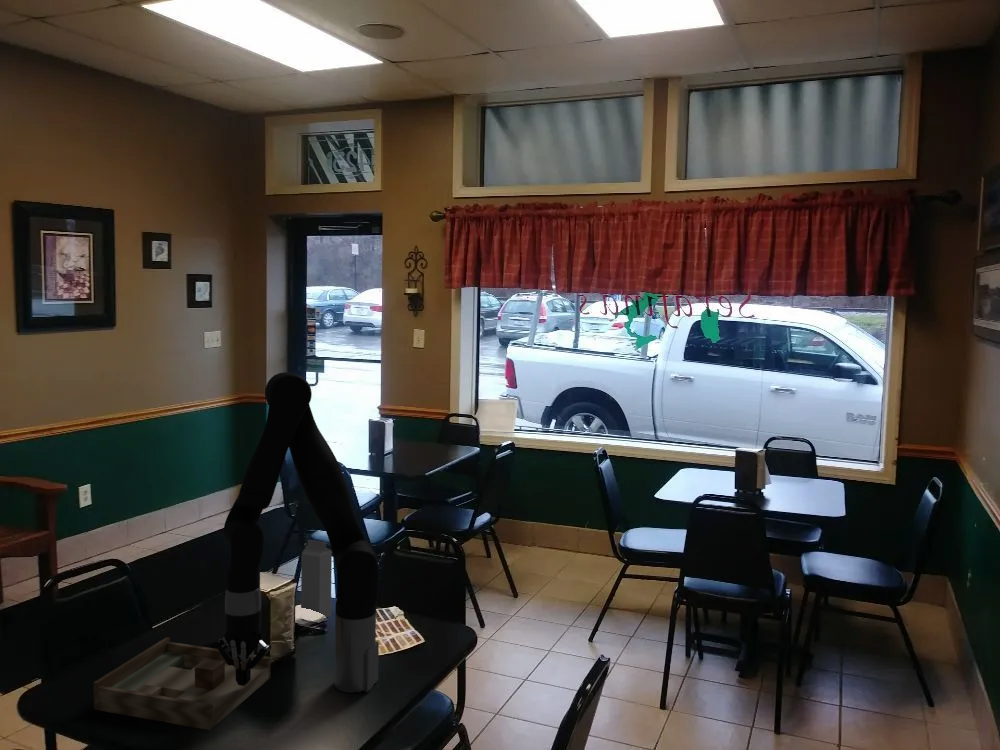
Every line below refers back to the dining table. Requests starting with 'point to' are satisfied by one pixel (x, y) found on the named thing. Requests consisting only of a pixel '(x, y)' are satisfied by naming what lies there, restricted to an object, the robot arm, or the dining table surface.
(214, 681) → the block
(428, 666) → the dining table surface
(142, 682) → the compartment tray
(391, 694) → the dining table surface
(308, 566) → the milk
